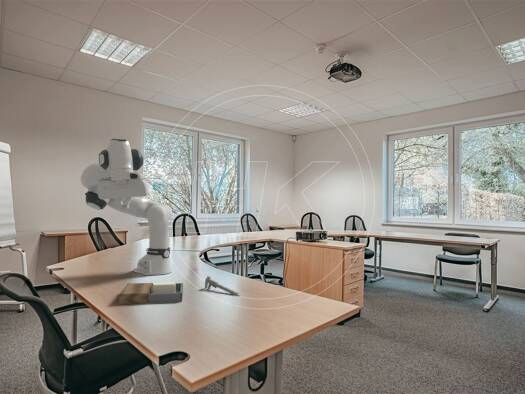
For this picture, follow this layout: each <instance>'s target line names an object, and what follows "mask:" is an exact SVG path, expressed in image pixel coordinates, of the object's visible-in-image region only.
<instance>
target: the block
mask: <svg viewBox="0 0 525 394" xmlns="http://www.w3.org/2000/svg"><path fill="white" fill-rule="evenodd" d="M176 283H177V282H176V281H154V282H153V294H156V293H175V286H176Z"/></svg>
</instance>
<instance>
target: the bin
mask: <svg viewBox="0 0 525 394" xmlns="http://www.w3.org/2000/svg"><path fill="white" fill-rule="evenodd" d="M183 294H184V282H180V283H179V282H176V286H175V293H156V294H153V293H152V294H149V302H148V304H153V303H154V304H155V303H156V304H157V303H159V304H160V303H179V302H183Z"/></svg>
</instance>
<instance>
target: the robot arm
mask: <svg viewBox="0 0 525 394" xmlns="http://www.w3.org/2000/svg"><path fill="white" fill-rule="evenodd" d="M143 165H144V156H143V154H142V153H141V152H140V151H139V150H138V149H137V148H131V144H130V142H129V140H127V139H124V138H121V139H120V138H111V139H109V141H108V146H107V147H106V148H105V149H102V150H101V151H100V153H99V154H98V162H95V163H91V164H89V165H88V166H87V167H86V168H85V169H84V170H83V171H82V173H81V175H80V182H81V185H82V186H83V187H84V188H86V189H87V192H85V193H84V195H85V203H86V205H87V206H88V207H90V208H91V209H94V210H97V211H98V210H103V209H104V208H106V207H107V206H108V207H109V208H111V209H113V210H116V211H117V212H120V213H123V214H126V215H130V216H134V217H136V218H142V219H145V220H147V224H148V225H147V227H148V233H149V239H148V240H149V242H148V245H149V246H148V248H146V249H145V251H146V254H145V255H143V256H142V257H141V258H140V259H138V262H137V266H136V267H135V268H132V272H134V273H137V274H140V275H142V276H143V275H144V276H152V275H153V276H159V275H160V276H161V275H166V274H170V273H172V267H171V259H170V258H171V257H170V254H171V247H170V241H171V240H170V238H171V237H170V236H171V235H170V234H171V233H170V230H169V221H170V220H171V218H172V216H173V209H172V208H171V206H169V205H168V204H164V203H161V202H157V201H154V200H151V199H146V198H142V197H148V196H149V192H150V190H149V186H148V182H147V181H146V180H145V178H146V176H145V174H143V173H139V172H137V171H138V170H140V169H141V168H142V167H143ZM134 171H135V172H134Z"/></svg>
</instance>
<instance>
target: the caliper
mask: <svg viewBox="0 0 525 394" xmlns="http://www.w3.org/2000/svg"><path fill="white" fill-rule="evenodd" d="M211 278H212V276H209V275H207V277H205V281H204V289H208V290H210V289H211V287H213V288H214V289H217V288H218V289H219V290H220V289H221V290H222V291H225V292H227V293H229V294H230V295H233V296H236V297H237V296H238V297H239V296H241V294H239V292H238V291H235V290H233V289H231V288H229V287H226V286H224V285H222V284H220V283H219V282H218V281H217V280H213V279H211Z"/></svg>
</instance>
